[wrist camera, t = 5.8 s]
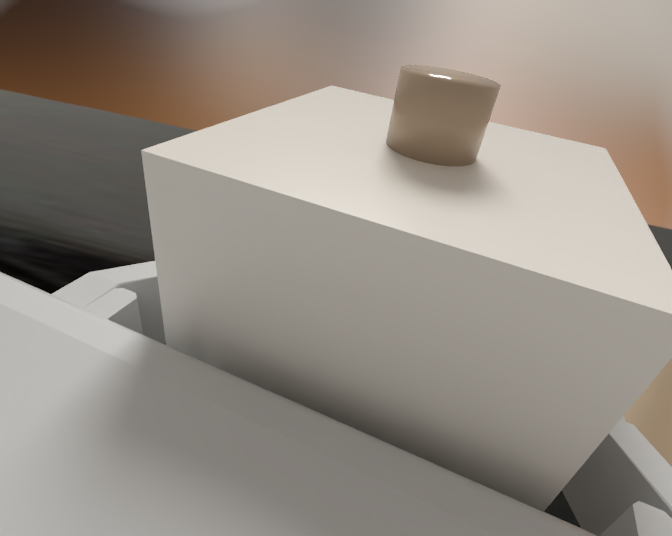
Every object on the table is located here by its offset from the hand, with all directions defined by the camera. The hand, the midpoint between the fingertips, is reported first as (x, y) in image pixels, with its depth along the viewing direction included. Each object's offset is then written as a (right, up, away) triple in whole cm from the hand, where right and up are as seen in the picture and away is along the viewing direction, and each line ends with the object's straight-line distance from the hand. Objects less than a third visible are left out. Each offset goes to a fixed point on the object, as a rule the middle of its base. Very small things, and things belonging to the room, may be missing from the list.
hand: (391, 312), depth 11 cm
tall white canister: (-1, -5, +2) cm, 6 cm away
